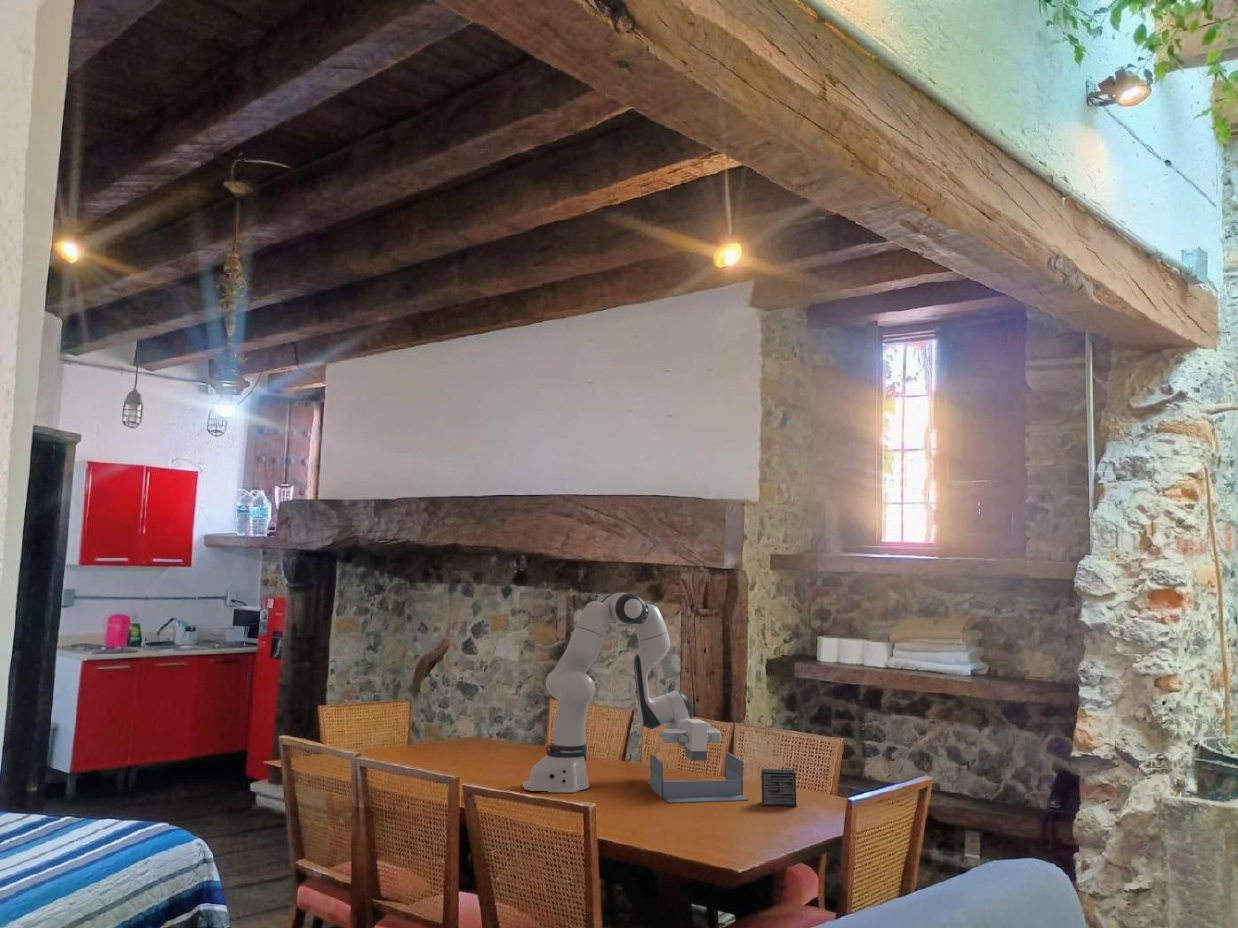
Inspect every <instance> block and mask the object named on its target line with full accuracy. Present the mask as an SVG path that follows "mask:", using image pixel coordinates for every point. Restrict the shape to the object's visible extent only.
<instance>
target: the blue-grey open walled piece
mask: <svg viewBox="0 0 1238 928" xmlns="http://www.w3.org/2000/svg"><path fill="white" fill-rule="evenodd" d="M725 754H726V755H725V756H726V762H725V763H726V766H725V779H720V780H715V779H716V778H715V779H714V778H712V779H711V778H710V779H709V778H708V779H704V780H713V781H698V780H699V779H696V780H697V781H688V780H689V779H683V780H682V779H679V780H677V779H676V780H665V779H664V763H663V762H662V761H661V760H660V759H659V758H657V757H656V756H654V755H653V754H652V753H650V754H649V770H650V771H649V772H650V773H649V774H650V775H649V776H650V777H649V778H650V780H648V781H646V783H647V784H648V785H649V787H650V789H651V788H652V789H651V790H652V791H653V792H655V794H657V795H658V796H659V798H660V799H664V800H665V801H666V802H667V803H668V804H690V803H692V804H693V803H714V802H715V803H718V802H721V803H722V802H746V800H748V801H749V799H748V798H747V797H745V796H744V760H742V759H740V758H739V757H737V756H736V755H734V754H732V753H730V752H728V751H726V753H725Z"/></svg>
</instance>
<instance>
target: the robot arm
mask: <svg viewBox="0 0 1238 928" xmlns="http://www.w3.org/2000/svg"><path fill="white" fill-rule="evenodd" d="M612 624H618V625H631V626H632V627H633V629H634V630H635V633H636V636H637V642H638V651H637V654H636V655H635V656H634V660H633V666H634V667H633V668H634V679H635V687H636V688H635V689H636V697H637V716H638V720H639V722H640V724H641V726H643V727H644V728H647V729H648V730H649V729H650V730H654V729H656V728H659V727H661V726H662V725H665V729H662V730H661V732H658V734H657V736H658V737H660V738H661V740H662V741H661V742H662V743H664V744H678V745H679V746H681V747H683V748H685V743H686V742H689V737H688V736H685V734H686V732H685V719H693V709H692V708H693V707H692V706H691V704H692V703H691V702H690V699H689V698H688V697H687V695H686V694H685V693H684V692H682V691H680V690H678V689H676V690H672V691H670V692H666V693H664V694H662V695H659V696H656V697H653V698H652V697H650V689H649V679H648V676H649V673H650V671H651V670H652V669H653V667H655V666H657V664H658V663H659V662H660V661H662V660H663V659H664V658H665V657H666V656H667V654H668V652H670V648H671V639H670V635H669V632H668V628H667V625H666V623H665V620H664V617H663V615H662V614H661V612H660V610H659V607H658V606H656V605H654V604H650V603H649V604H648V603H645V601H644V600H643V599H642V598H641V597H640V596H638V594H635V593H629V592H614V593H610V594H609V595H607V596H606V597H605V598H604V599H603V600H601V601H596V600H595V601H589V602H588V603H586V605H585V606H584V608H583V610H582V612H581V613H580V615H579V617H578V620H577V622H576V624H575V627H574V629H573V631H572V634H571V637H570V640H569V642H568V644H567V647H566V649H565V651H564V652H563V654H562V656H561V657H560V659H559V660H558V662H557V663H556V665H555V667H554V668H553V670H551V671H550V672H549V673H548V675H547V676H546V678H545V688H546V691H547V692H548V693H549V694H550V696H551V697H552V698H554V699H556V700H558V701H559V702H558V706H557V707H558V708H557V712H556V714H555V717H554V718H553V721H552V743H550V744H549V743H545V744H544V746H543V748H544V750H546V755H545V756H544V757H543V758H542V759H541V760H539V761H538V762H536V763H535V764H534V765H533V766H532V767H531V770H530V772H529V778H528V780H526V781H524V782H523V783H522V788H523V787H524V788H528V789H530V790H543V791H548V792H547V793H569V794H570V793H576V792H579V791H581V790H582V791H583V790H586V789H588V788H590V783H589V779H588V778H589V777H588V775H587V774H588V773H587V764H586V763H587V757H588V754H587V753H588V750H587V749H588V748H587V744H586V722H587V716H588V711H589V706H590V704H591V703H590V702H591V700H592V699H593V697H594V696H595V693H596V684H595V681H594V679H593V678H591V677H590V675H588V674H587V672H588V670H589V669H590V667H591V666H592V665H593V664H594V663H595V662H596V661H597V659H598V658H599V654H600V651H601V650H602V646H603V643H604V641H605V640H606V635H607V632H608V630H609V628H610V627H611V625H612ZM721 741H722V732H721V730H719V729H718V728H716V727H713V726H712V725H711V724H710V723H707V744H712V743H718V744H719V743H721Z"/></svg>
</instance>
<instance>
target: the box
mask: <svg viewBox="0 0 1238 928" xmlns="http://www.w3.org/2000/svg"><path fill="white" fill-rule="evenodd" d="M707 724H708V723H707V722H706V721H704V720H702V719H700V718H695V719H694V718H691V719H685V732H686V734H685V736H688V737H689V742H686V743H685V747H684V756H685V757H686V758H687V759H689V760H691V761H692V762H693V761H694V762H695V761H701V762H702V761H705V762H706V761H707V760H708V743H707Z"/></svg>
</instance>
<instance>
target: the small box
mask: <svg viewBox="0 0 1238 928" xmlns="http://www.w3.org/2000/svg"><path fill="white" fill-rule="evenodd" d="M760 775H761V776H760V777H761V805H762V807H777V806H780V807H785V808H796V807H797V806H798V805H797V779H796V775H797V773H796V771H795V769H790V768H789V769H782V768H781V769H780V768H779V769H778V768H761V774H760ZM780 807H779V808H780Z"/></svg>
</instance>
